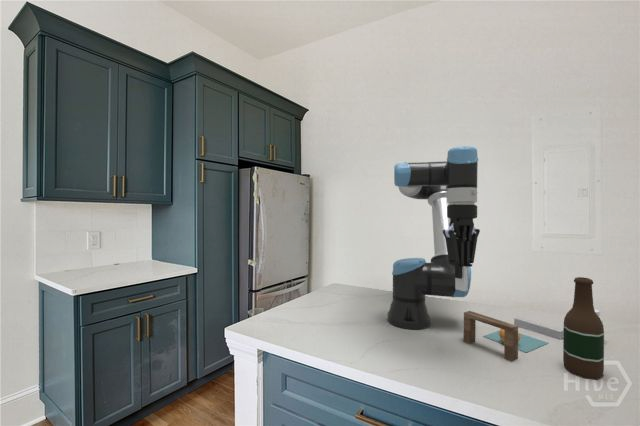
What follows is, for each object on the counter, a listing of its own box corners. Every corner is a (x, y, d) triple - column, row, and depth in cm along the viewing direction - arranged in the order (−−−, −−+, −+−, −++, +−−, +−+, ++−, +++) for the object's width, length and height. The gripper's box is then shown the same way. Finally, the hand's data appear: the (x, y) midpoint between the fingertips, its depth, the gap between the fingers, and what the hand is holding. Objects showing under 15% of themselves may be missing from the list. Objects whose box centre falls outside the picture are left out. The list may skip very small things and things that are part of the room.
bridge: (511, 361, 82) (512, 327, 82) (463, 341, 94) (463, 312, 94) (517, 358, 83) (518, 325, 83) (469, 339, 96) (469, 310, 96)
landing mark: (483, 336, 98) (483, 336, 98) (505, 329, 104) (505, 328, 104) (526, 352, 87) (526, 352, 87) (548, 343, 93) (548, 342, 93)
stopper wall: (514, 325, 108) (514, 318, 108) (517, 324, 109) (517, 317, 109) (560, 339, 96) (560, 331, 96) (563, 338, 97) (563, 330, 97)
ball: (504, 319, 96) (507, 334, 97) (493, 328, 93) (497, 343, 94) (521, 326, 91) (525, 341, 92) (511, 335, 89) (515, 351, 89)
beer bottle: (555, 364, 80) (556, 275, 80) (582, 363, 81) (582, 274, 81) (583, 381, 72) (584, 282, 72) (612, 379, 73) (613, 281, 73)
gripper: (458, 203, 76) (458, 296, 76) (489, 204, 82) (488, 290, 82) (434, 204, 82) (433, 289, 82) (464, 204, 89) (464, 284, 89)
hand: (461, 289), depth 82 cm, fingers closed
